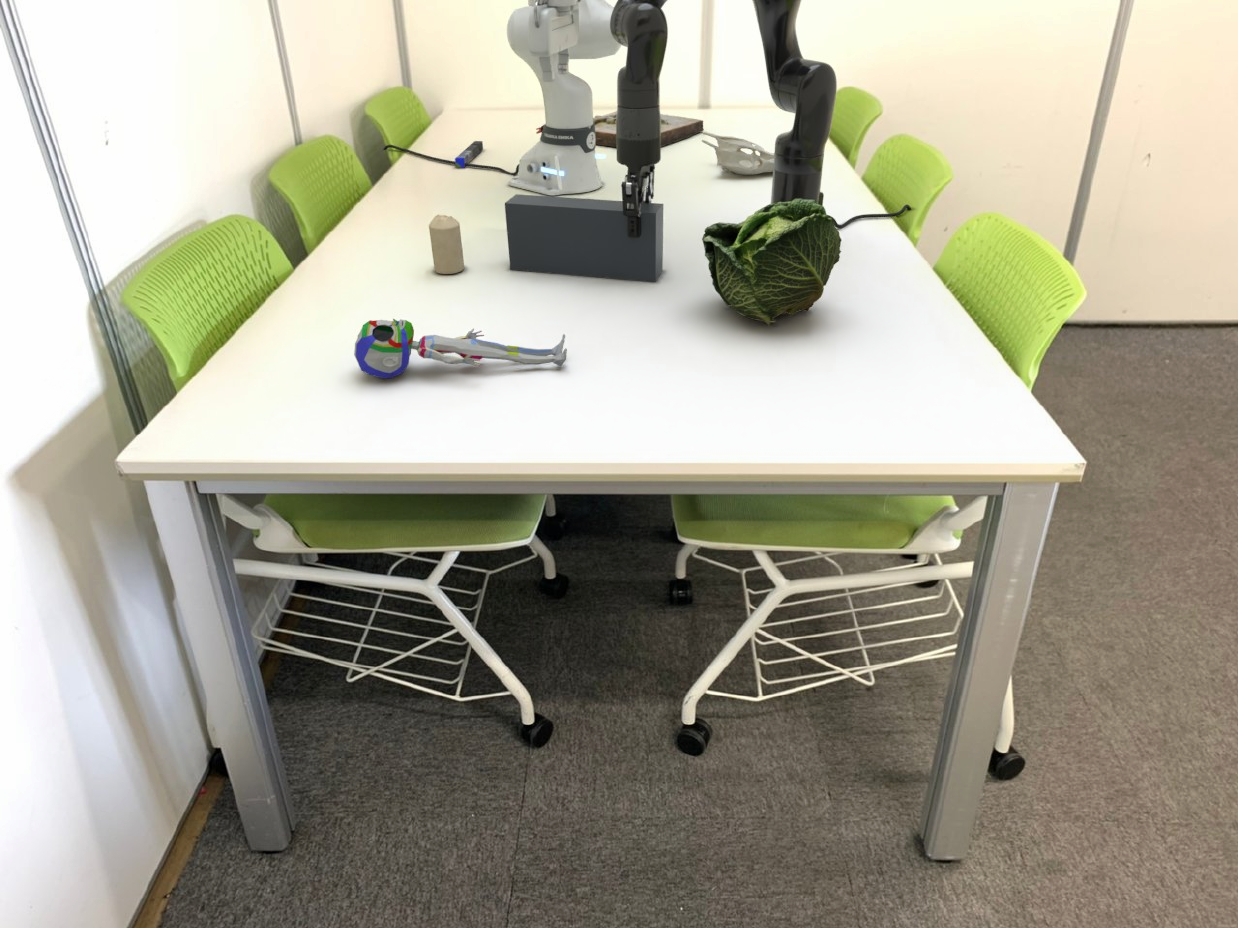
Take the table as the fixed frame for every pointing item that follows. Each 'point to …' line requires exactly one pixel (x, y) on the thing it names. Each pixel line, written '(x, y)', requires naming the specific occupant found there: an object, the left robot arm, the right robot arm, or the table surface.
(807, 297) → the vegetable
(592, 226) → the box
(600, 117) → the plaque
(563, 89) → the left robot arm
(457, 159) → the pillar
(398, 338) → the toy
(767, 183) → the table surface
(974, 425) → the table surface
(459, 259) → the candle
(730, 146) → the anatomical model
